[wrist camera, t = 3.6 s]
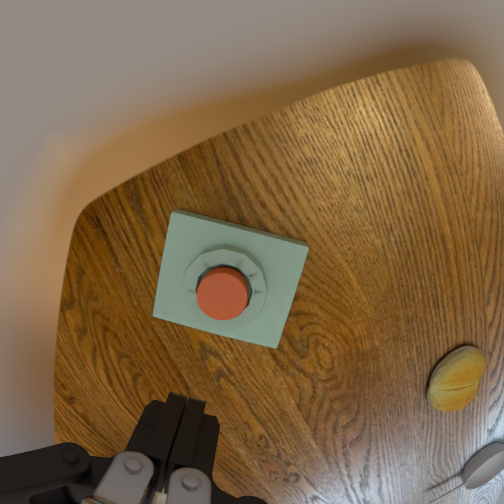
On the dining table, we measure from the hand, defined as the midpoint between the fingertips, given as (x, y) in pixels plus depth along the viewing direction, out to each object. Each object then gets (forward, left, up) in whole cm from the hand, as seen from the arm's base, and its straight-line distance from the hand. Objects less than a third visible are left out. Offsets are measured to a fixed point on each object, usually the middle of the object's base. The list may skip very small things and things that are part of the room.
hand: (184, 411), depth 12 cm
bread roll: (+30, -6, -19) cm, 36 cm away
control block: (0, 0, -19) cm, 19 cm away
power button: (0, 0, -15) cm, 15 cm away
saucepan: (+49, -26, -19) cm, 59 cm away
